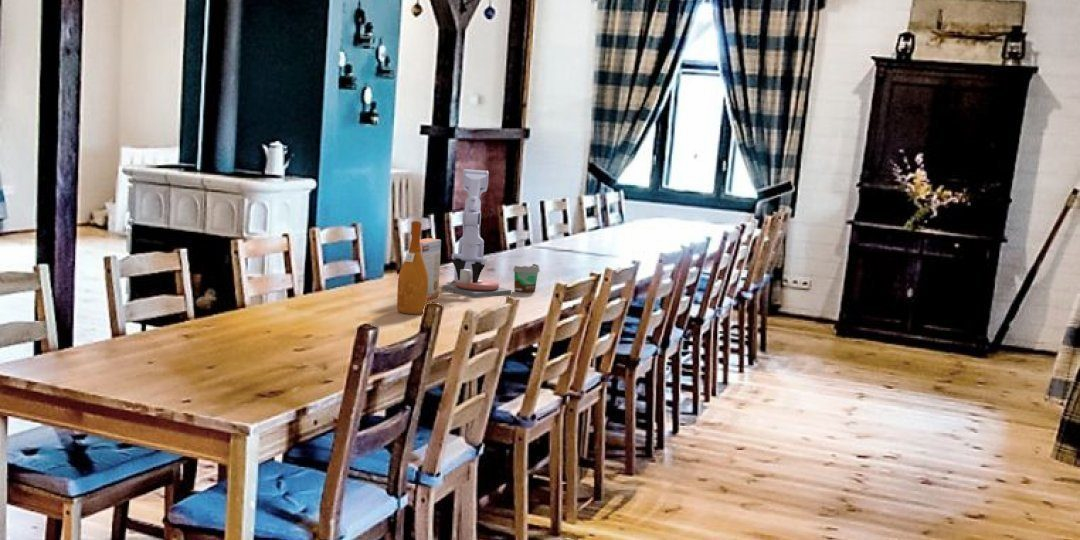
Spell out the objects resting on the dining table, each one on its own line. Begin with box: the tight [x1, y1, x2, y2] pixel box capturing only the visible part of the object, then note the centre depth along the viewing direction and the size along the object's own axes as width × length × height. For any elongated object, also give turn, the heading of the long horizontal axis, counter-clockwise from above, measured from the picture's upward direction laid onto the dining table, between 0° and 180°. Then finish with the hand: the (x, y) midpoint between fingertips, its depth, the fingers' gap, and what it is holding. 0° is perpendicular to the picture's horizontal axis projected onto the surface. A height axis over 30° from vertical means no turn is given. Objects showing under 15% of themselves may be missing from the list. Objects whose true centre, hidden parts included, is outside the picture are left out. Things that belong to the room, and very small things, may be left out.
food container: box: [513, 263, 541, 294], centre depth 413 cm, size 12×6×10 cm, turn 143°
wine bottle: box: [396, 220, 428, 315], centre depth 356 cm, size 10×10×30 cm
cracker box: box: [408, 237, 442, 301], centre depth 381 cm, size 14×6×21 cm, turn 158°
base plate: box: [442, 283, 512, 299], centre depth 406 cm, size 18×18×2 cm
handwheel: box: [455, 269, 500, 290], centre depth 405 cm, size 16×16×6 cm
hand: (467, 281), depth 400 cm, fingers open, 6 cm apart
